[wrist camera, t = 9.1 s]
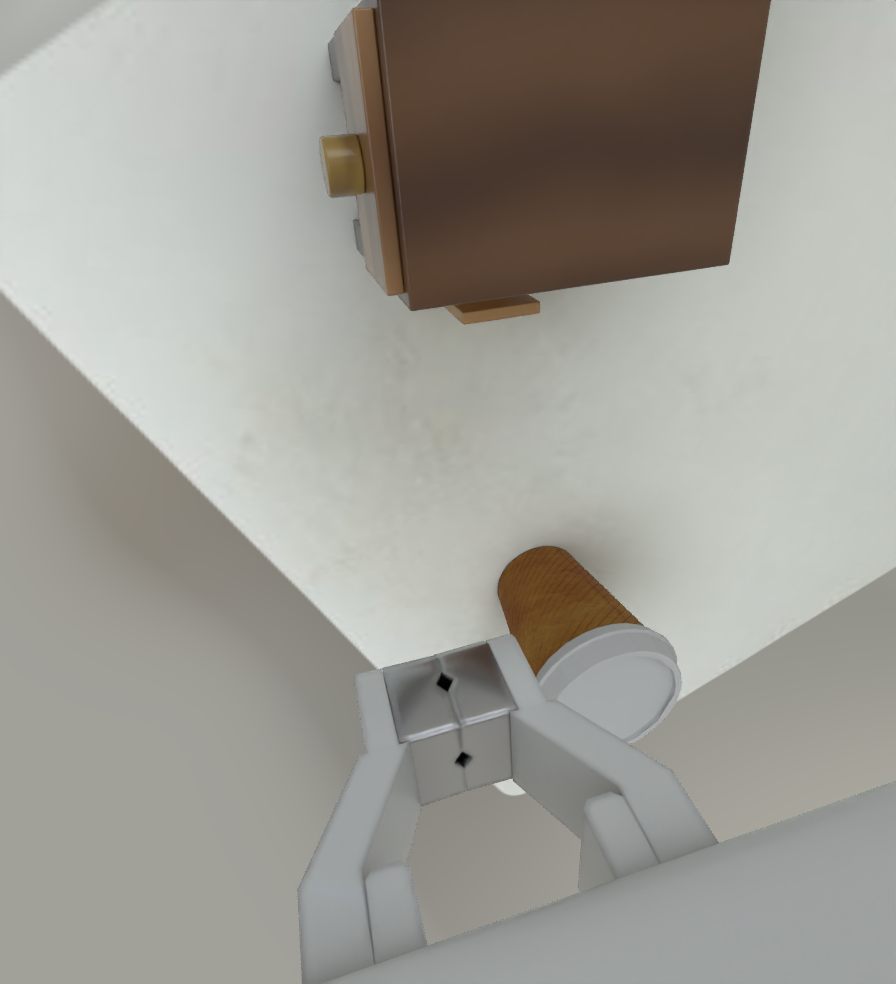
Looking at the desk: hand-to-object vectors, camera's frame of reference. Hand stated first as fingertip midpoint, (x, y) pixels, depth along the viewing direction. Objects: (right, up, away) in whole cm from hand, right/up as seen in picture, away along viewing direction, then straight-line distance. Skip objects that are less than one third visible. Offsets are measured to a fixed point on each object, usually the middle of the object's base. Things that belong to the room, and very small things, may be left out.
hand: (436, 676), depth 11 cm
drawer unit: (+1, +20, +19) cm, 28 cm away
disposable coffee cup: (+7, -3, +34) cm, 35 cm away
